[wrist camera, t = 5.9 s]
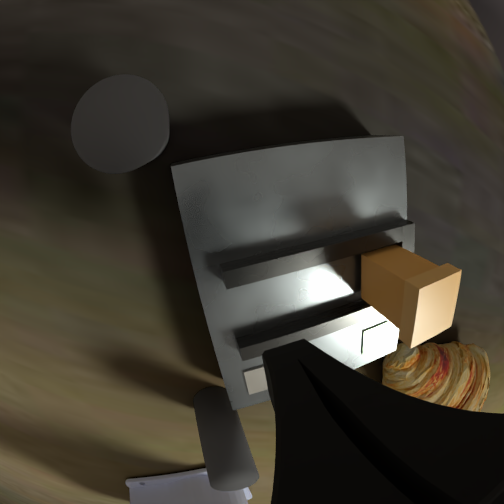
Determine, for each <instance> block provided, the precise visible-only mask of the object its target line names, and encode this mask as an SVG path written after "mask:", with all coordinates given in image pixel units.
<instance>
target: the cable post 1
mask: <svg viewBox="0 0 504 504" xmlns="http://www.w3.org/2000/svg"><path fill="white" fill-rule="evenodd" d="M169 133H170V131H169V110H168V106H167V103H166V100H165V98H164V96H163V95H162V93H161V92H160V90H159V89H158V88H157V87H156V86H155V85H154V84H153V83H151V82H150V81H148V80H147V79H145V78H142V77H140V76H136V75H131V74H120V75H114V76H110V77H107V78H105V79H103V80H101V81H99V82H97V83H96V84H94V85H93V86H92V87H91V88H89V89H88V90H87V91H86V92H85V93H84V95H83V96H82V97H81V99H80V100H79V102H78V104H77V105H76V108H75V110H74V113H73V116H72V121H71V137H72V142H73V145H74V147H75V150H76V152H77V153H78V155H79V156H80V158H81V159H82V160H83V161H84V162H85V163H86V164H87V165H89V166H90V167H92V168H94V169H95V170H98V171H101V172H104V173H110V174H119V173H125V172H129V171H132V170H135V169H137V168H139V167H141V166H143V165H144V164H146V163H148V162H150V161H152V160H153V159H155V158H157V157H158V156H159V155H160V154H161V153H162V152H163V151H164V149H165V148H166V146H167V144H168V141H169Z"/></svg>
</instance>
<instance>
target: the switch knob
mask: <svg viewBox="0 0 504 504" xmlns="http://www.w3.org/2000/svg"><path fill="white" fill-rule="evenodd" d="M461 271H462V270H460V269H458V268H456V267H454V266H453V265H451V264H449V263H446V264H444V265H441V266H438V265H436V264H434V263H432V262H430V261H428V260H426V259H424V258H422V257H420V256H418V255H416V254H414V253H412V252H410V251H408V250H406V249H404V248H402V247H400V246H398V245H396V244H394V245H391V246H388V247H384V248H381V249H377V250H374V251H371V252H367V253H364V254H361V298H362V299H363V300H364V301H366V302H367V303H368V304H369V305H371V306H372V307H373V308H374V309H375V310H377V311H378V312H379V313H380V314H381V315H383V316H384V317H385V318H386V319H387V320H389V321H390V322H391V323H392V324H393V325H395V326H396V327H397V328H398V329H399V330H400V331H399V339H400V340H401V341H402V342H403V343H404V344H406V345H407V346H408V347H409V348H410V349H411V348H413V347H415V346H417V345H419V344H421V343H423V342H424V341H426V340H428V339H430V338H432V337H434V336H435V335H437V334H439V333H441V332H442V331H444V330H446V329H448V328H449V327H451V325H452V320H453V316H454V311H455V306H456V301H457V295H458V290H459V284H460V277H461Z"/></svg>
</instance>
